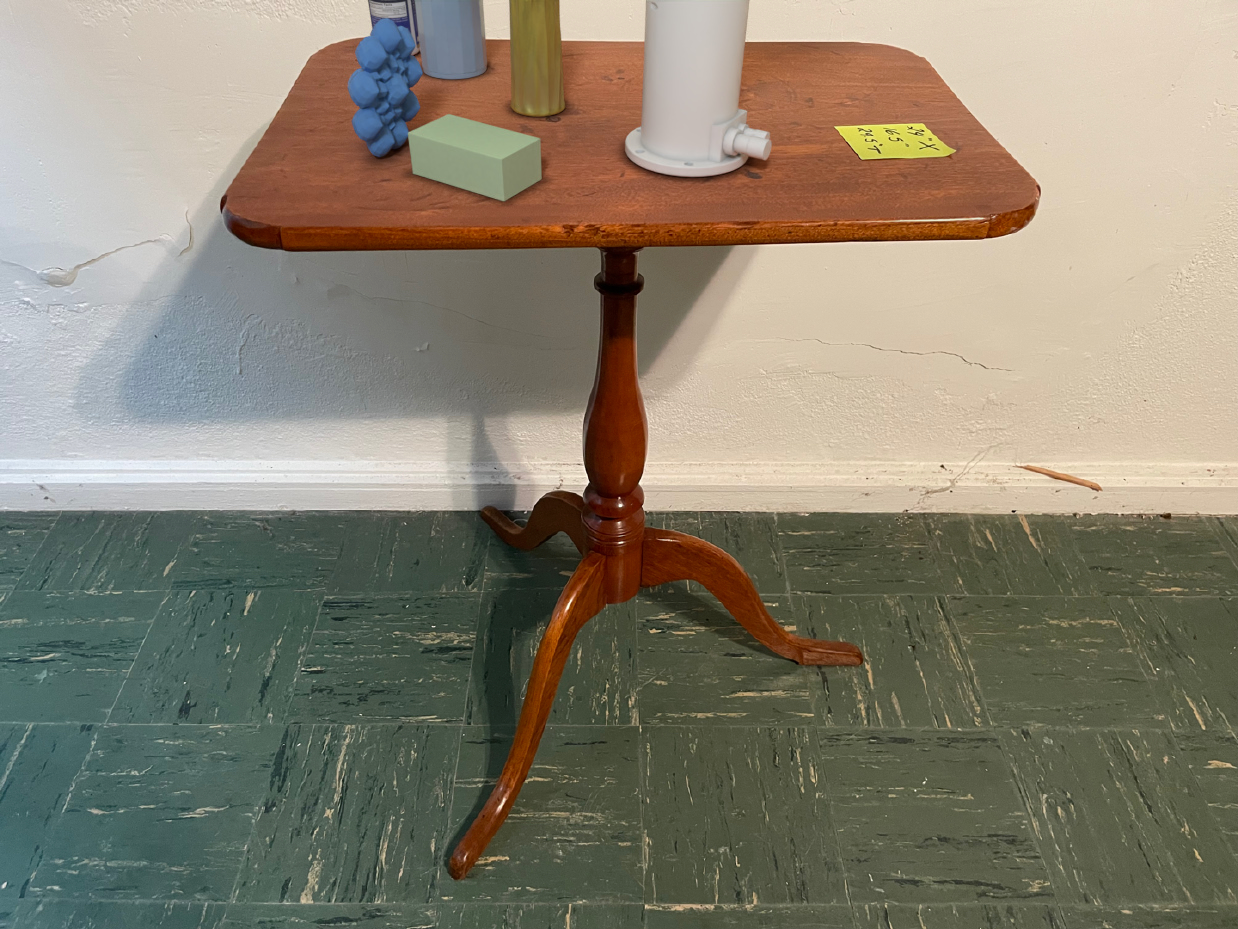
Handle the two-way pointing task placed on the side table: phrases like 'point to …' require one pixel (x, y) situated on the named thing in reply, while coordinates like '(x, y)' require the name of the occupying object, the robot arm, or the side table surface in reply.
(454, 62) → the cup
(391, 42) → the grapes
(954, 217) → the side table surface
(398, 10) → the pill bottle
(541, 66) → the vase
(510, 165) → the pale sage-green block
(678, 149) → the robot arm
